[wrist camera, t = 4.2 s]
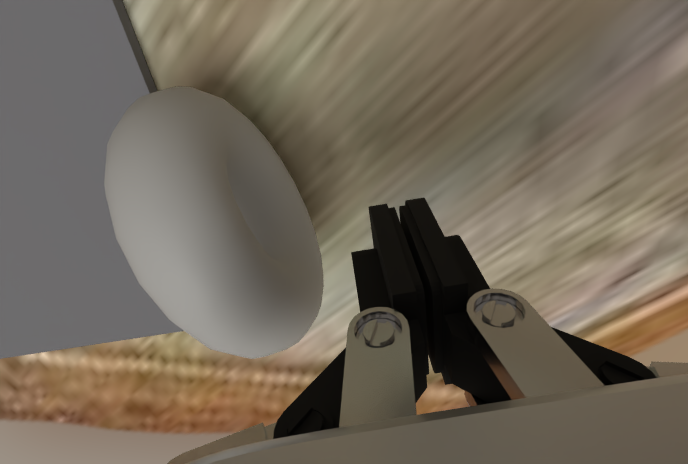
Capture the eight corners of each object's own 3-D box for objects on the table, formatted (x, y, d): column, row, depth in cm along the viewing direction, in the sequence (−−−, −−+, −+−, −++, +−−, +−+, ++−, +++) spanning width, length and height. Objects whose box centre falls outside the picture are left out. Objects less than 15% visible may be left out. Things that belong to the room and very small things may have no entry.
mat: (99, -56, 14) (88, -58, 13) (243, 312, 24) (241, 322, 23) (-359, 25, 15) (-392, 27, 14) (-33, 354, 24) (-43, 364, 24)
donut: (149, 85, 17) (-13, 199, 8) (219, 43, 16) (117, 124, 8) (277, 254, 22) (255, 431, 14) (334, 228, 21) (347, 397, 13)
